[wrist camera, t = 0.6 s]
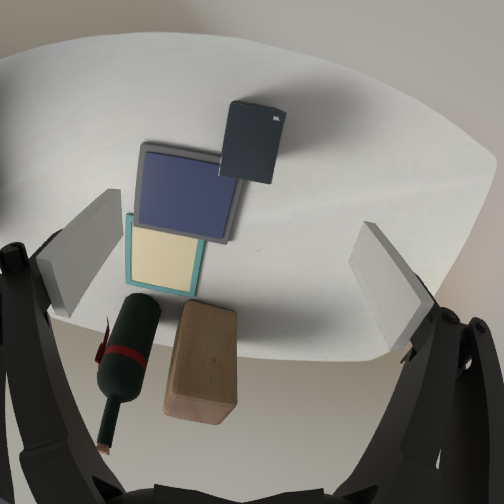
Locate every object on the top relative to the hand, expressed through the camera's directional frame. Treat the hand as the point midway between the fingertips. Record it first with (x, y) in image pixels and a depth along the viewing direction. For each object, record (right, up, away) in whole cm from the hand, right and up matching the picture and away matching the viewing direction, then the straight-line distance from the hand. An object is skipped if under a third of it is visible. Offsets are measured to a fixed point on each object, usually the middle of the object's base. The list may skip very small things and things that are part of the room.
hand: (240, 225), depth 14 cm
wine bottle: (-22, -12, +36) cm, 44 cm away
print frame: (-14, -2, +30) cm, 33 cm away
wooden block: (-8, -15, +39) cm, 42 cm away
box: (0, +15, +20) cm, 25 cm away
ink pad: (-9, +7, +24) cm, 27 cm away
